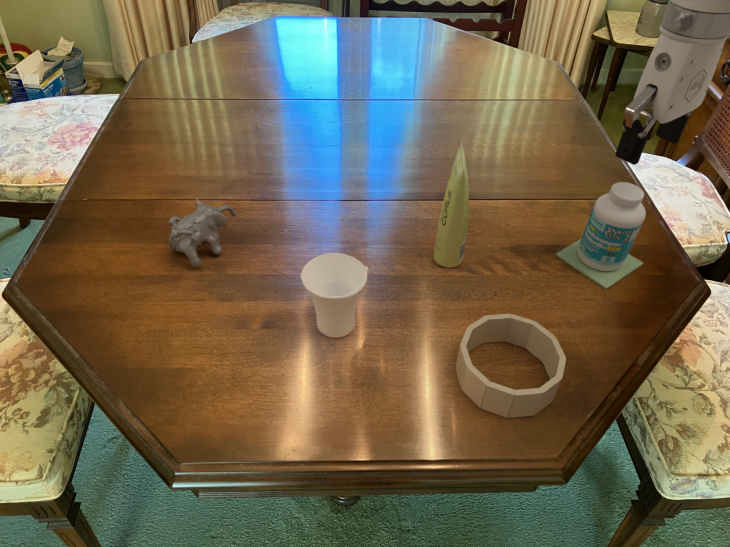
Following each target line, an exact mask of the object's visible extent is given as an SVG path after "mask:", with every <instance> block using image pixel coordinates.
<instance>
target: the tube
mask: <svg viewBox="0 0 730 547" xmlns="http://www.w3.org/2000/svg"><path fill="white" fill-rule="evenodd" d="M469 188H470V186H469V176H468V168H467V161H466V156H465V151H464V147H463V141H461V142H460V146H459V148H458V150H457V151H456V155H455V158H454V160H453V163H452V167H451V171H450V175H449V178H448V181H447V185H446V188H445V193H444V196H443V200H442V206H441V210H440V215H439V220H438V225H437V231H436V235H435V243H434V249H433V260H434V262H435V263H436V264H437V265H439V266H441V267H443V268H449V269H451V268H456V267H458V266H460V265H461V264H462V263H463V261H464V257H465V251H466V250H465V249H466V242H467V233H468V225H469V213H470V212H469V209H470V208H469V207H470V189H469Z"/></svg>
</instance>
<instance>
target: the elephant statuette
mask: <svg viewBox="0 0 730 547" xmlns="http://www.w3.org/2000/svg"><path fill="white" fill-rule="evenodd" d="M195 208H196V209H195V210H194V211H193V212H192V213H188V214H186V215H184V216H183V217H182V218H181V217H179V216H177V215H174V216H172V217H170V219H169V221H168V225H169V226H170V227H171V233H170V235H169V237H168V247H169V250H170V251H171V252H173V253H176V252H177V253H183V254H185V256H186V257H187V258H188V260H189V261H190V263H191V266H192V267H193V268H195V269H199V268H200V267H202V264H203V262H202V259H201V258H200V257H199V254H198V252H197V248H198V247H199V246H201V245H202V243H207V245H208V247H209V248H210V250H211V252H212V254H213V255H214V256H219V255H221V254H222V252H223V249H222V247H221V244H220V236H219V232H220V231H219V228H225V227H227V226H228V224H229V221H228V218H227V217H226V215H224V214H223V212H224V211H228V212H229V214H230V215H231V216H232V217H233V218H235V217H237V212H236V211H235V210H234V209H233V207H232V206H231V205H229V204H224V205H221V206H217V207H216V206H213V205H210V204H205V203H204V202H203V201H201V200H199V199H198V198H196V199H195Z"/></svg>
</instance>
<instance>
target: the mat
mask: <svg viewBox="0 0 730 547" xmlns="http://www.w3.org/2000/svg"><path fill="white" fill-rule="evenodd" d="M580 241H581V238H580V239H578V240H577V241H574V242H573V243H571V244H570V245H568V246H566V247H564V248H562V249H561V250H559V251H558V252H556V253H555V255H554V256H555V257H557V258H558V259H560V260H561V261H563V262H564V263H566V264H567V265H569V266H571V267H572V268H573V269H574V270H576V271H577V272H579V273H580V274H582V275H583V276H585V277H586V278H588V279H589V280H591V281H593V282H594V283H595V284H597V285H598V286H600V287H602V288H603V289H604V290H607V289H610V288H611V287H612V286H614V285H615V284H616V283H618V282H620V281H621V280H622V279H624V278H626V276H628V275H629V274H631V273H633V272H635V271H636V270H638V268H640V267H642V266H643V265H644V261H641V260H639V259H638V258H637V257H634V256H633V255H631V254H630V253H628V255H627V257H626V259H625V261H624V263H623V265H622V266H621V267H620V268H618V269H616V270H613V271H600V270H596V269H593V268H591V267H589V266H587V265H586V264H585V263H583V262H582V261H581V259H580V258H579V256H578V246H579V244H580Z"/></svg>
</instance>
